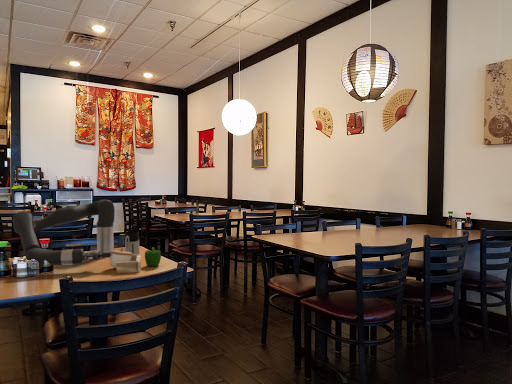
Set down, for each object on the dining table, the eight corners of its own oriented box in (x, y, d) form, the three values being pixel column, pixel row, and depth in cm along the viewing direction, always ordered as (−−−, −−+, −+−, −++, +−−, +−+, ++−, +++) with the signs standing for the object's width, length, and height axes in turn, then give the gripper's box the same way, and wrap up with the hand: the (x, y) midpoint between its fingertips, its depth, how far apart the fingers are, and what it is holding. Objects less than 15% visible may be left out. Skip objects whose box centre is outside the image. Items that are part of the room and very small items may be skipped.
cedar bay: (119, 264, 201) (119, 255, 201) (141, 263, 204) (141, 254, 204) (116, 273, 182) (116, 262, 182) (140, 271, 185) (140, 261, 185)
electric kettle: (142, 256, 223) (142, 231, 222) (133, 261, 209) (133, 234, 208) (127, 256, 223) (127, 231, 223) (118, 261, 209) (117, 234, 209)
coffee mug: (73, 261, 210) (73, 243, 210) (87, 261, 208) (87, 243, 208) (58, 265, 198) (58, 246, 198) (73, 266, 197) (72, 247, 196)
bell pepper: (147, 264, 202) (146, 245, 202) (162, 264, 202) (162, 245, 202) (142, 267, 194) (142, 248, 194) (158, 267, 194) (158, 248, 194)
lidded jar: (103, 264, 192) (107, 246, 193) (123, 265, 200) (126, 247, 201) (113, 268, 185) (117, 249, 186) (133, 269, 192) (136, 250, 193)
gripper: (75, 261, 191) (112, 259, 195) (69, 267, 178) (109, 265, 183) (75, 246, 191) (111, 245, 195) (69, 251, 178) (108, 249, 182)
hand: (110, 254), depth 189 cm, fingers closed
